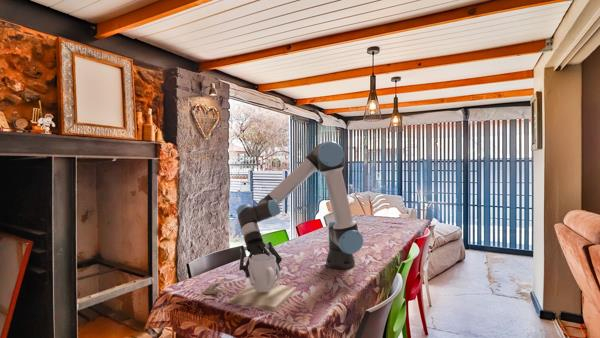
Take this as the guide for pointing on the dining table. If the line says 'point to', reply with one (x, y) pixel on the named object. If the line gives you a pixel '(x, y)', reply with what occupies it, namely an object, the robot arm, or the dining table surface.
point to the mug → (263, 272)
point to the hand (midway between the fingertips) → (266, 281)
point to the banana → (212, 287)
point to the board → (263, 297)
